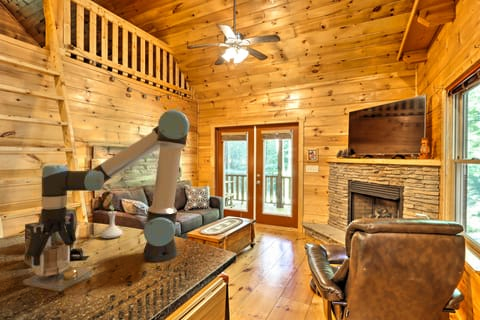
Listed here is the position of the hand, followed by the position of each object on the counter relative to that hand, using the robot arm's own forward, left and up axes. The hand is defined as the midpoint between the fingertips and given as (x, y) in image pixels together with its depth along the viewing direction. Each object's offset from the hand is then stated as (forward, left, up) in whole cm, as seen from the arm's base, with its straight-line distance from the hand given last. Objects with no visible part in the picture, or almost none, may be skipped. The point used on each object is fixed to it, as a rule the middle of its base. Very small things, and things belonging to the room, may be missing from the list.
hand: (53, 267), depth 91 cm
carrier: (-3, 0, -4) cm, 5 cm away
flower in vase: (+13, -44, -4) cm, 46 cm away
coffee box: (+18, -8, -4) cm, 20 cm away
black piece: (+7, -16, -5) cm, 18 cm away
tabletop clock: (+28, -25, -4) cm, 38 cm away
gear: (0, 0, -1) cm, 1 cm away
